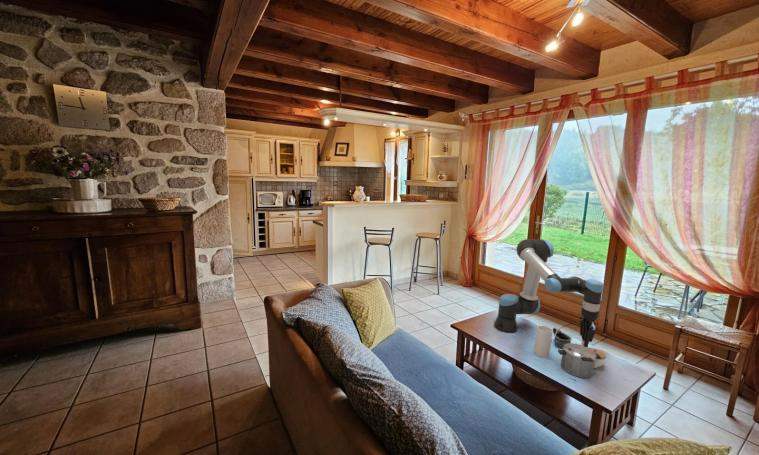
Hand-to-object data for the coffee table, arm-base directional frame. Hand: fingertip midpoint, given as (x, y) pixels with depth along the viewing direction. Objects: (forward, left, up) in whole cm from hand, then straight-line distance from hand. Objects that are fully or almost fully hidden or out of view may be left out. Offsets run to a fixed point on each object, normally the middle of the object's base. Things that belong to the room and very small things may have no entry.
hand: (583, 351), depth 171 cm
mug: (-31, +2, -14) cm, 34 cm away
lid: (-3, 0, -3) cm, 4 cm away
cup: (-18, -14, -14) cm, 26 cm away
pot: (-4, 0, -13) cm, 14 cm away
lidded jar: (-11, +12, -14) cm, 21 cm away
